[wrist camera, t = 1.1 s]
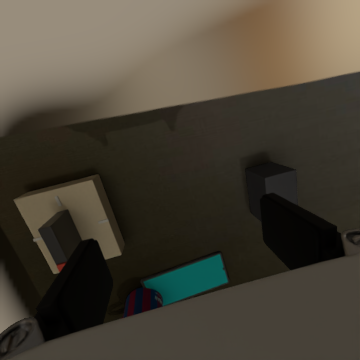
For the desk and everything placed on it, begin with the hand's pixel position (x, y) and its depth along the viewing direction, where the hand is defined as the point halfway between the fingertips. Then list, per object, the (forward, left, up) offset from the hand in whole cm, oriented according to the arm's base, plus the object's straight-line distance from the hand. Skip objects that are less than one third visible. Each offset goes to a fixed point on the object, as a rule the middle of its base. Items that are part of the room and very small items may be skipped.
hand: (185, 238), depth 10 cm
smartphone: (+21, -2, -19) cm, 29 cm away
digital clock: (+7, +14, -19) cm, 25 cm away
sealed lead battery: (+4, -15, -16) cm, 22 cm away
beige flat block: (+4, -15, -19) cm, 24 cm away
